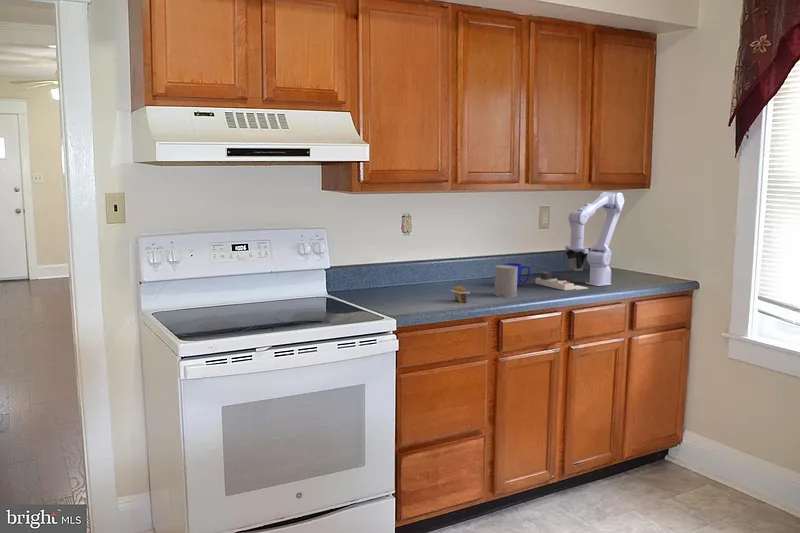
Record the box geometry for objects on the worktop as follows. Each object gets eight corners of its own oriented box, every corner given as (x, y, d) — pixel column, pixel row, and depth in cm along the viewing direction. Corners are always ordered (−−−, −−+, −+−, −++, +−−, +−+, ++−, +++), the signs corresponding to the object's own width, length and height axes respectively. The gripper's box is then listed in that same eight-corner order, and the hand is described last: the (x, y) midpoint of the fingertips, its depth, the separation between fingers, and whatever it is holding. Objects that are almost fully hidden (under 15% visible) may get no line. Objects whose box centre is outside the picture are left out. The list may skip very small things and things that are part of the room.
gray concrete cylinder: (503, 297, 285) (503, 268, 283) (489, 294, 293) (490, 265, 291) (521, 296, 289) (522, 267, 287) (507, 292, 297) (508, 264, 296)
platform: (459, 307, 265) (459, 291, 264) (434, 300, 281) (434, 284, 280) (484, 305, 271) (484, 288, 270) (458, 297, 286) (458, 282, 286)
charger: (568, 269, 310) (568, 258, 310) (576, 268, 312) (577, 258, 311) (574, 270, 306) (574, 259, 306) (582, 270, 308) (583, 259, 307)
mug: (529, 287, 310) (530, 266, 308) (502, 286, 312) (503, 265, 310) (529, 284, 317) (530, 263, 316) (503, 283, 320) (504, 262, 318)
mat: (577, 286, 315) (577, 285, 315) (588, 288, 309) (588, 287, 309) (565, 287, 311) (565, 286, 311) (576, 289, 305) (576, 288, 305)
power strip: (544, 282, 324) (544, 271, 323) (573, 289, 307) (574, 277, 306) (535, 283, 321) (535, 271, 321) (564, 290, 304) (565, 277, 303)
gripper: (560, 236, 312) (559, 265, 314) (580, 239, 299) (578, 270, 301) (572, 235, 315) (571, 265, 317) (593, 239, 302) (591, 269, 304)
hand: (575, 267), depth 309 cm, fingers closed on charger, 4 cm apart
